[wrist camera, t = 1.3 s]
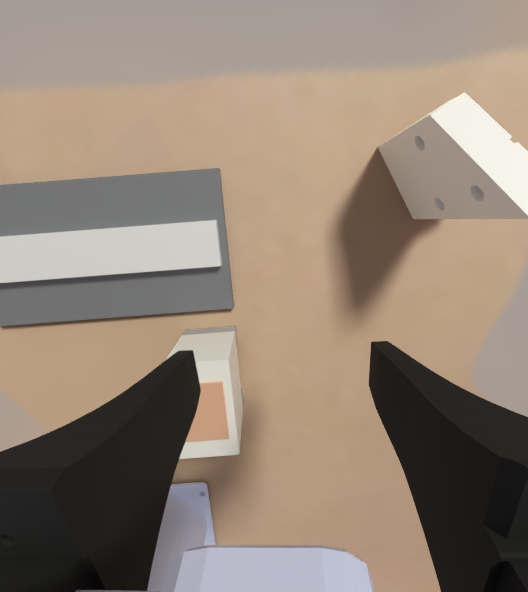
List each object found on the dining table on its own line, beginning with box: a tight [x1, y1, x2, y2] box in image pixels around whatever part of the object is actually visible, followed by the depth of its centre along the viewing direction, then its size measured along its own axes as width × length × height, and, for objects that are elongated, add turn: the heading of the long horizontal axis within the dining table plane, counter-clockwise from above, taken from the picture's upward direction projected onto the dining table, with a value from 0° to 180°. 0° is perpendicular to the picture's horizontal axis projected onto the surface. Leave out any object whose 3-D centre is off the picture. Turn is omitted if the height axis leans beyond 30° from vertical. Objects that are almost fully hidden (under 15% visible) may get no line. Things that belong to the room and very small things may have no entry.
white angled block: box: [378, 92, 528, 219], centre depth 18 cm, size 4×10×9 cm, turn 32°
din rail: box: [0, 168, 234, 326], centre depth 22 cm, size 10×18×1 cm, turn 94°
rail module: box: [165, 326, 244, 459], centre depth 22 cm, size 7×4×6 cm, turn 4°
